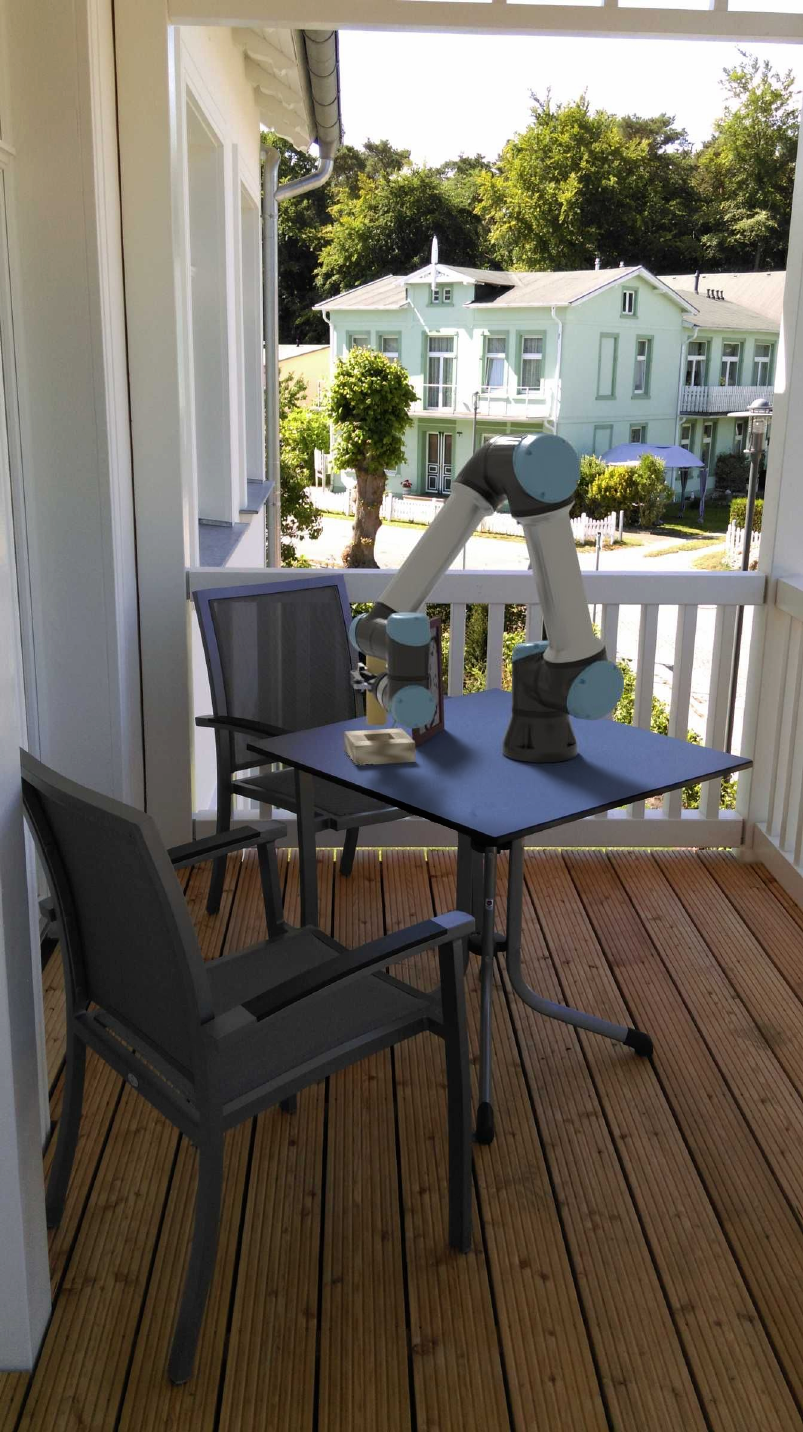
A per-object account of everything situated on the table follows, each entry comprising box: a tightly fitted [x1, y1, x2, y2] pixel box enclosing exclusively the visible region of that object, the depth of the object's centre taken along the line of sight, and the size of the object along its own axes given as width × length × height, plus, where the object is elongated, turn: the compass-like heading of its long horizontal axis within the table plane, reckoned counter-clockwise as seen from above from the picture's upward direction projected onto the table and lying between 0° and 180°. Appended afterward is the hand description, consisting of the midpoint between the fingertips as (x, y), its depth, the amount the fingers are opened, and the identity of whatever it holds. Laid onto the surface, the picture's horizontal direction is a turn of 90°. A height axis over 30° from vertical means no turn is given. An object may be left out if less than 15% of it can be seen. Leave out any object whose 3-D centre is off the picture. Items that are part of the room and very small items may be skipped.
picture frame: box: [390, 616, 445, 748], centre depth 248 cm, size 17×10×25 cm, turn 158°
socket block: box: [344, 727, 416, 766], centre depth 234 cm, size 12×12×4 cm
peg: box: [365, 655, 388, 726], centre depth 231 cm, size 4×4×18 cm
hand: (371, 669), depth 236 cm, fingers closed on peg, 4 cm apart
